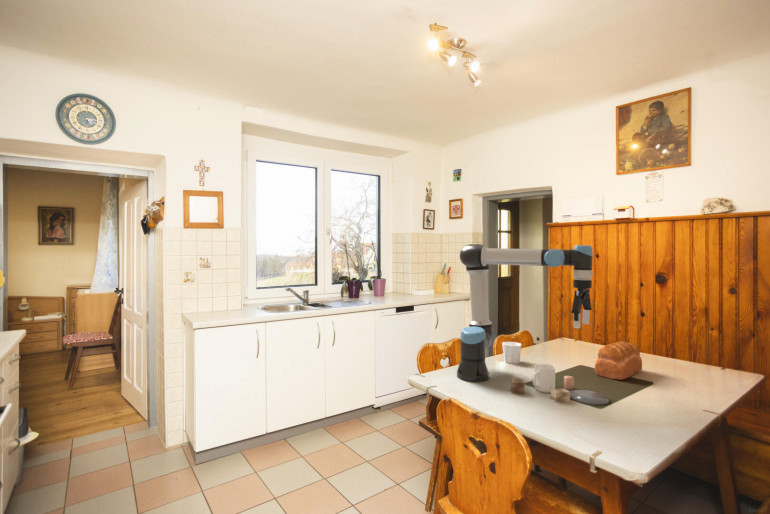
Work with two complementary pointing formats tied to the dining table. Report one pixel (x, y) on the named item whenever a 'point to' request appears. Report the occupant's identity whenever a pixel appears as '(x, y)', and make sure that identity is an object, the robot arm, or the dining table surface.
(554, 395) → the beech block
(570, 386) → the peach egg shape
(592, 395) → the gray plate
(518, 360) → the cup
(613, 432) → the dining table surface
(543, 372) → the mug
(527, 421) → the dining table surface
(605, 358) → the bread
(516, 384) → the walnut block
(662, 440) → the dining table surface
